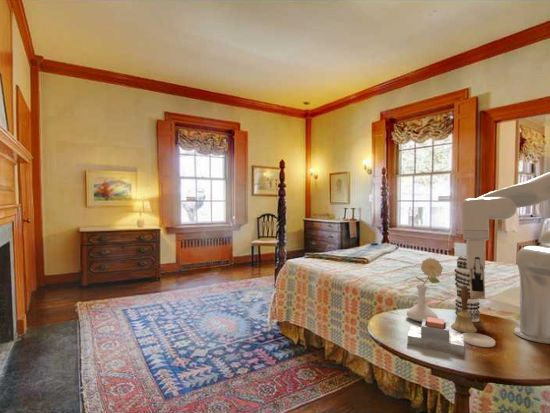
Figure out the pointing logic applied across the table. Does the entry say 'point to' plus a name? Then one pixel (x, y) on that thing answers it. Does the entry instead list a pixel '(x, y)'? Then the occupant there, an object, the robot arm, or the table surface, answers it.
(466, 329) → the hand bell
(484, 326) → the table surface
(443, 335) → the base
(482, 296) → the pale wood brick
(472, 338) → the coaster
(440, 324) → the button
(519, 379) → the table surface
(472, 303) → the decorative candle
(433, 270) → the flower in vase
